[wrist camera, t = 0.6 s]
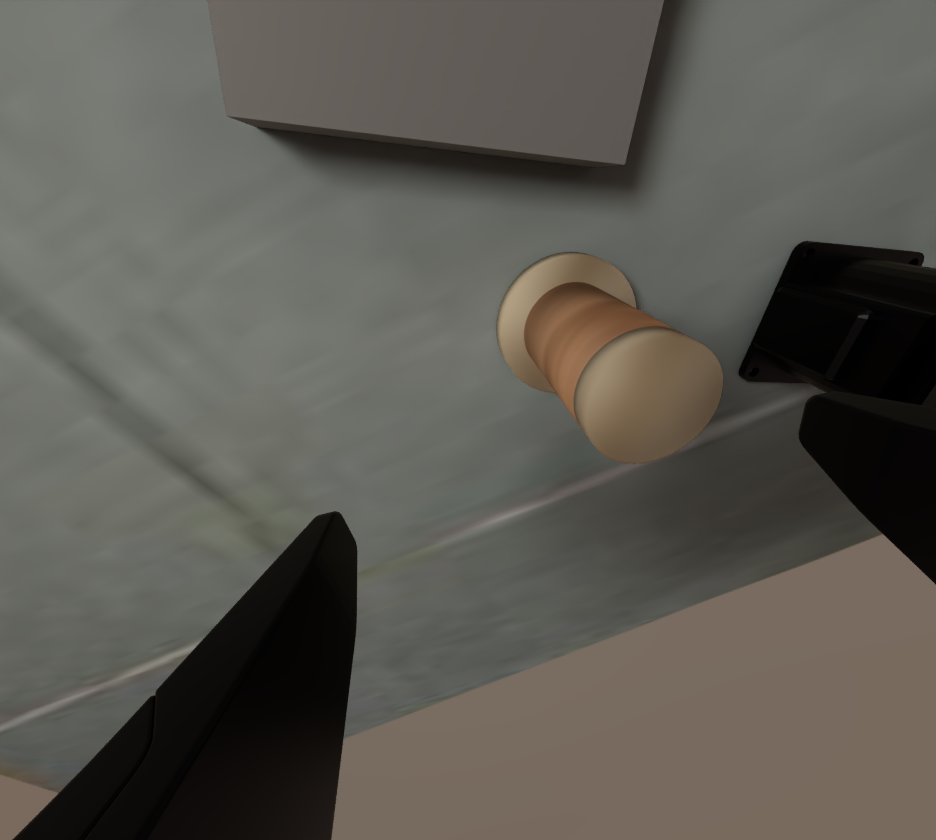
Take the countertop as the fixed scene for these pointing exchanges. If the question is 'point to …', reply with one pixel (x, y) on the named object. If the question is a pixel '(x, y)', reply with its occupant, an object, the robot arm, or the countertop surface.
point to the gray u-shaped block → (443, 72)
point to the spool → (607, 358)
